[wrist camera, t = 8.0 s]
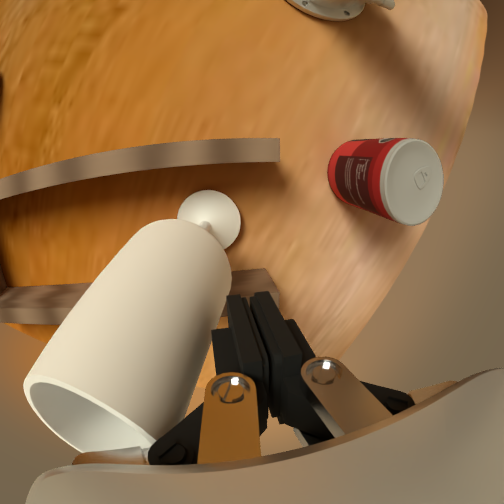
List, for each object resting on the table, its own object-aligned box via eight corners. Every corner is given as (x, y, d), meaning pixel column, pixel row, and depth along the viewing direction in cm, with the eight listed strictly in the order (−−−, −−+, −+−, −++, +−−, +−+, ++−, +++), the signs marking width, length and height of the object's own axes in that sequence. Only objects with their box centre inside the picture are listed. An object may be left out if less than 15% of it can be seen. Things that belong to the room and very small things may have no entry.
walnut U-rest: (263, 142, 27) (279, 138, 21) (265, 284, 32) (279, 309, 26) (-22, 190, 20) (-49, 199, 15) (3, 300, 26) (-17, 321, 20)
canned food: (389, 168, 30) (453, 179, 20) (355, 216, 31) (415, 244, 21) (350, 126, 28) (414, 119, 17) (312, 176, 29) (368, 188, 19)
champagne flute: (184, 256, 29) (74, 462, 6) (170, 196, 27) (-28, 333, 4) (245, 247, 29) (230, 490, 6) (234, 184, 26) (142, 346, 4)
